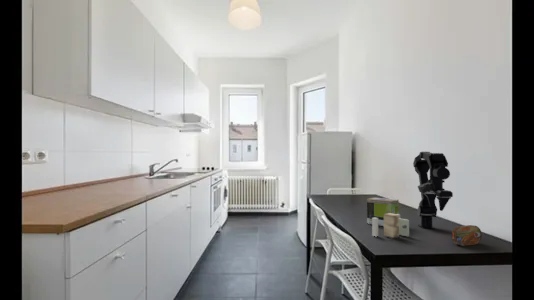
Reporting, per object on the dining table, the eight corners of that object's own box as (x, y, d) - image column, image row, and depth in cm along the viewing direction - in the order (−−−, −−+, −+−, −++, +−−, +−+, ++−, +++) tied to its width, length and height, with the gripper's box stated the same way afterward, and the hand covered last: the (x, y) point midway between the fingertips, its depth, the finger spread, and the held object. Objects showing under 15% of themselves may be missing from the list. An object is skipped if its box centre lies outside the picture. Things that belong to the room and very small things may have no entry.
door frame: (397, 229, 163) (397, 212, 163) (400, 230, 161) (400, 213, 161) (372, 236, 150) (372, 217, 150) (375, 237, 148) (375, 218, 148)
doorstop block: (389, 235, 152) (389, 213, 152) (398, 237, 148) (398, 214, 148) (383, 236, 149) (383, 214, 149) (393, 238, 145) (393, 215, 145)
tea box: (399, 225, 173) (399, 199, 173) (392, 228, 166) (392, 201, 166) (374, 221, 184) (374, 196, 184) (366, 223, 177) (366, 198, 177)
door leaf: (387, 232, 155) (387, 217, 155) (390, 232, 157) (390, 216, 157) (406, 237, 147) (406, 220, 147) (409, 236, 149) (408, 219, 149)
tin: (456, 246, 133) (456, 227, 133) (450, 244, 136) (450, 225, 136) (482, 244, 137) (482, 225, 138) (475, 242, 140) (475, 223, 141)
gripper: (411, 176, 162) (411, 205, 162) (429, 179, 144) (429, 212, 143) (432, 176, 162) (432, 205, 162) (453, 179, 143) (453, 212, 143)
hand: (436, 209), depth 153 cm, fingers open, 9 cm apart
